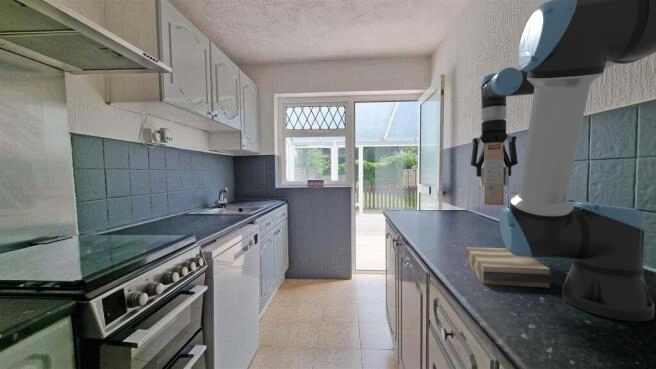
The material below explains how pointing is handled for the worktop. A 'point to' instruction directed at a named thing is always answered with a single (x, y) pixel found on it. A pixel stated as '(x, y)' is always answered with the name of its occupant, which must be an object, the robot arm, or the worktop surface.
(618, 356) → the worktop surface
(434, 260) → the worktop surface
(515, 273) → the dock
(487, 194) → the cracker box
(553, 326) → the worktop surface
